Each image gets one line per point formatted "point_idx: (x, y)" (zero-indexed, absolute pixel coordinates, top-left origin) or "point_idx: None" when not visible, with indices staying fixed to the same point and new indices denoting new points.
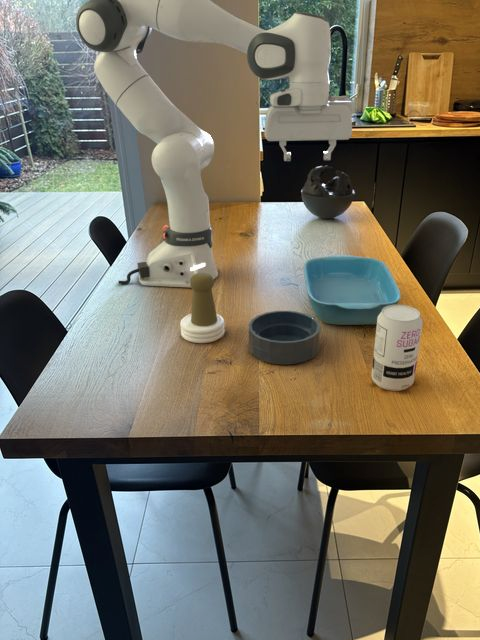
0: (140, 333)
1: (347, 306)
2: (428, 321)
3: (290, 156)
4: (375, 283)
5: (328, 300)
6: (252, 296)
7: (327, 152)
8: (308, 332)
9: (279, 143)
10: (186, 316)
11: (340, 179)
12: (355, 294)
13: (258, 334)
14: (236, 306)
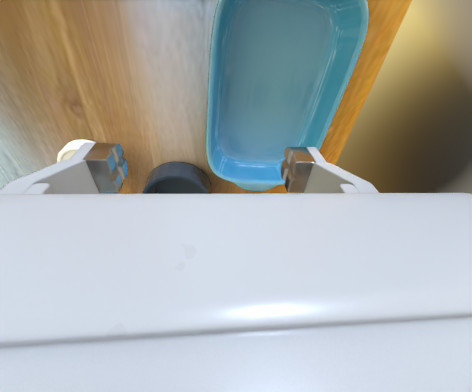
0: (14, 152)
1: (243, 187)
2: (332, 150)
3: (121, 182)
4: (332, 42)
5: (240, 97)
6: (125, 48)
7: (300, 191)
8: (201, 190)
9: (5, 190)
10: (60, 159)
11: None
12: (285, 77)
13: (153, 191)
14: (109, 87)
